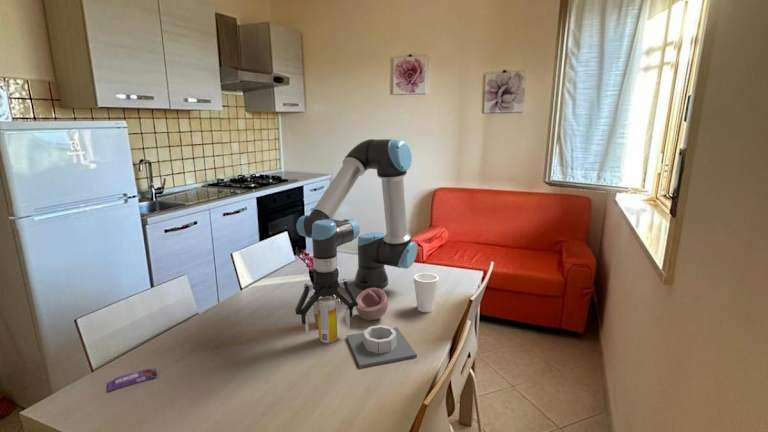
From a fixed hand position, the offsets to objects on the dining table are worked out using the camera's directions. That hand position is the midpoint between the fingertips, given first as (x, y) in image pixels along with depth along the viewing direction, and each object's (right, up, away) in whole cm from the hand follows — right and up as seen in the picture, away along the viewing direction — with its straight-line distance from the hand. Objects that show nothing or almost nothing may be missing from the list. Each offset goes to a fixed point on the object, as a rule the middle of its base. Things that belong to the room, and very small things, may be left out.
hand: (327, 329), depth 133 cm
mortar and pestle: (+14, 0, +15) cm, 21 cm away
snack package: (-52, -9, -20) cm, 56 cm away
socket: (+17, -5, -4) cm, 18 cm away
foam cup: (+35, +1, +23) cm, 42 cm away
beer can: (0, -4, +1) cm, 4 cm away
